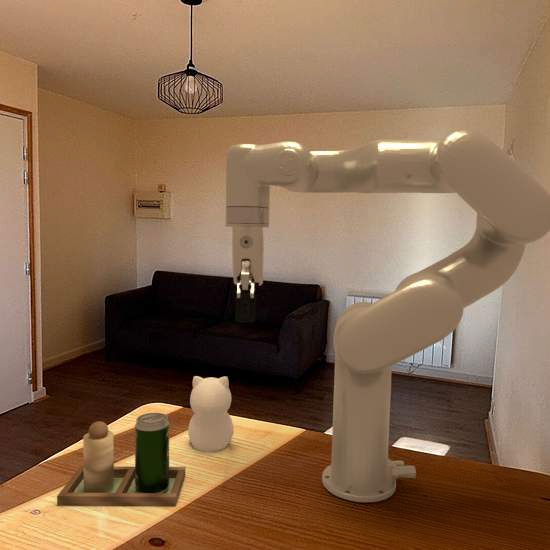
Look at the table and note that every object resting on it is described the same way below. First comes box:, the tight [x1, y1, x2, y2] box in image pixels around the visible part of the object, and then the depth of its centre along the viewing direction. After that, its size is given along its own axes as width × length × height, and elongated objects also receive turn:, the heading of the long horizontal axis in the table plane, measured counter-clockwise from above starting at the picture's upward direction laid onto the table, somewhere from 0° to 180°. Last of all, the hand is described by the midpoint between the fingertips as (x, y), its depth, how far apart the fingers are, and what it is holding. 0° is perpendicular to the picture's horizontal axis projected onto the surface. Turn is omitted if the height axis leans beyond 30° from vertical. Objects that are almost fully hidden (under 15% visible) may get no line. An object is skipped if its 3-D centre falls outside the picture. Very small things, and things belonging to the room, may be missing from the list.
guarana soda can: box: [134, 412, 170, 493], centre depth 80 cm, size 5×5×12 cm
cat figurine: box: [187, 375, 234, 453], centre depth 99 cm, size 9×12×15 cm
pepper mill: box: [82, 420, 115, 493], centre depth 79 cm, size 5×5×11 cm
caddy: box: [56, 465, 186, 508], centre depth 80 cm, size 18×10×2 cm, turn 91°
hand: (246, 316), depth 86 cm, fingers open, 9 cm apart
